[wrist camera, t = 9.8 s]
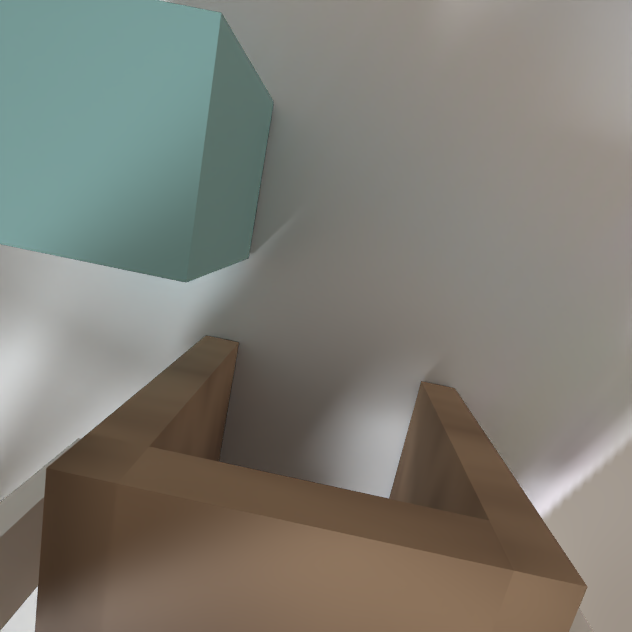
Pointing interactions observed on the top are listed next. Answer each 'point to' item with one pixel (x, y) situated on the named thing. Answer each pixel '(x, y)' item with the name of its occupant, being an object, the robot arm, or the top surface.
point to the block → (129, 135)
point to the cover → (288, 529)
